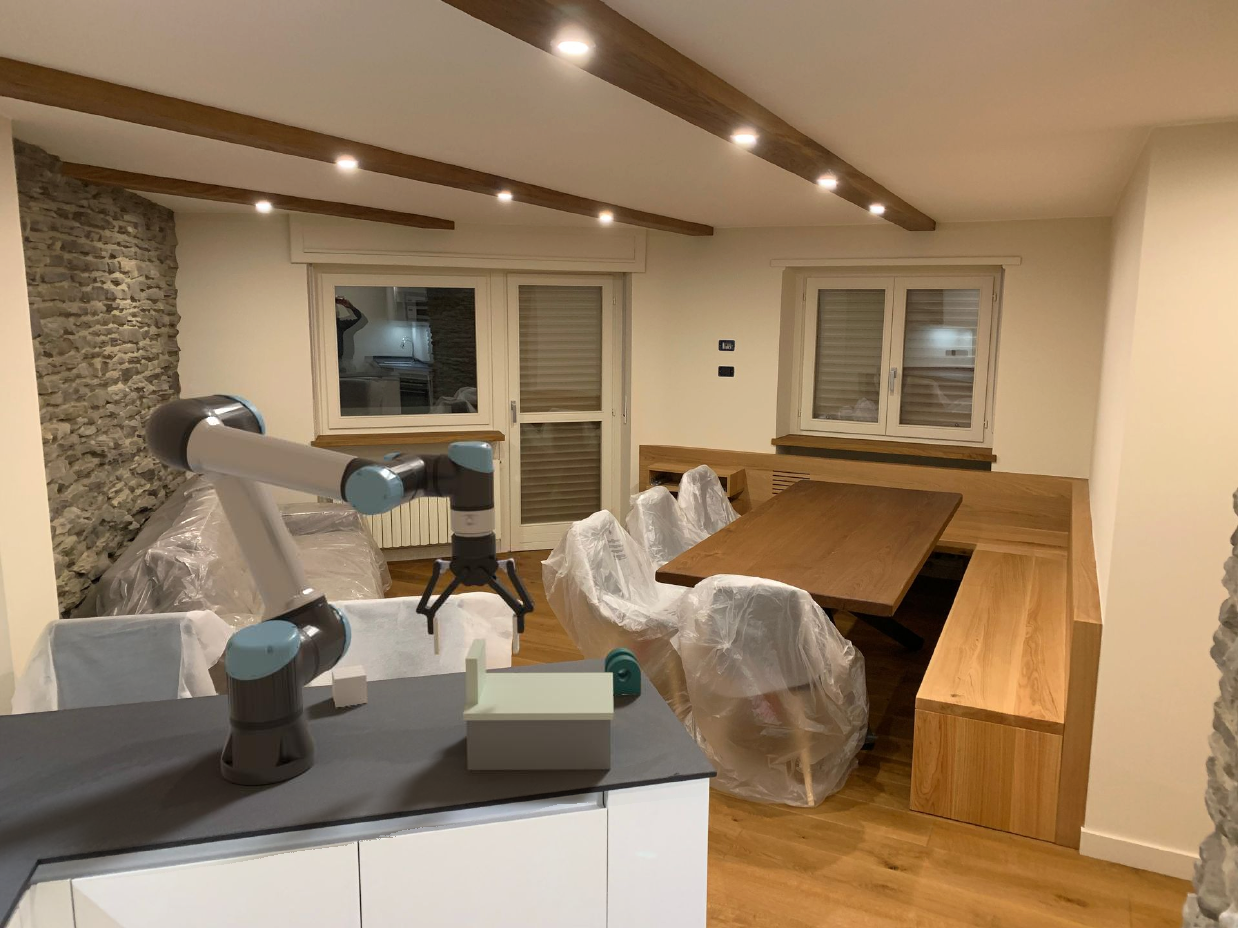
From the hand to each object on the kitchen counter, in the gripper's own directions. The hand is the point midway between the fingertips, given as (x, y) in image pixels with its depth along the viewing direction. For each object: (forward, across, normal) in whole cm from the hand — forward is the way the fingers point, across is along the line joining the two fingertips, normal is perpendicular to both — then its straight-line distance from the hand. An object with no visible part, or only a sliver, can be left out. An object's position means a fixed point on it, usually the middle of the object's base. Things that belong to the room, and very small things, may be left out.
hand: (477, 651), depth 157 cm
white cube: (+18, -29, +21) cm, 40 cm away
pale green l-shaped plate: (+10, +11, 0) cm, 15 cm away
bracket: (+18, +20, +26) cm, 37 cm away
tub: (+18, +11, 0) cm, 21 cm away
